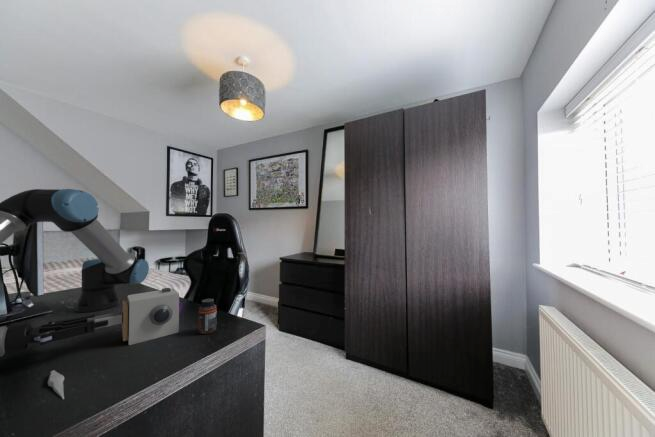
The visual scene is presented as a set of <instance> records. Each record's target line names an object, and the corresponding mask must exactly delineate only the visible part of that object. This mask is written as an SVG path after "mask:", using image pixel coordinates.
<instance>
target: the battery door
mask: <svg viewBox="0 0 655 437" xmlns="http://www.w3.org/2000/svg"><path fill="white" fill-rule="evenodd" d="M121 308H122V311H118V312H119V313H118V312H114V314H113V313H109V315H108V314H103V316H102V315H99V316H98V317H97V316H95V317H93V318H88V319H87V322H91V321H94V322H95V320H96V319H101V318H106V317H111V316H116V315H122V323H121V333H122V334H121V335H122V341H123V342H125V341H128V339H127V332H128V304H127V300H126V299H125V300H122V307H121Z"/></svg>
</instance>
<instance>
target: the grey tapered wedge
mask: <svg viewBox="0 0 655 437" xmlns="http://www.w3.org/2000/svg"><path fill="white" fill-rule="evenodd" d="M49 374H50V375H49V377H48V380H47V385H48V387H50V388H52V389H53V391H54V392H55V393H56V394H57V395H58V396H59V397H60V398H61V399H62V400H65V394H64V392H65V390H64V381H65V376H64V375H63V374H61V373H59V372H57V371H56V370H55V369H54V370H51V371H50V373H49Z"/></svg>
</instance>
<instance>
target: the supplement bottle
mask: <svg viewBox="0 0 655 437" xmlns="http://www.w3.org/2000/svg"><path fill="white" fill-rule="evenodd" d="M217 309H218V308H217V305H216V304H215V300H214V298H206V299H202V300H201V306H199V307H198V323H197V324H198V326H197V328H198V333H199V334H201V335H206V334H207V335H208V334H211V333H214V332H215V331H216V330H217V320H218V319H217V313H218V312H217Z"/></svg>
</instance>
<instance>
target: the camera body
mask: <svg viewBox="0 0 655 437" xmlns="http://www.w3.org/2000/svg"><path fill="white" fill-rule="evenodd" d="M126 299H127V300H126V301H127V304H128V332H127V344H128V346H132V345H135V344H140V343H144V342H147V341H151V340H155V339H158V338H162V337H163V338H164V337H166V336H169V335H173V334H178V333H179V329H180V312H179V301H180V292H178V291H177V290H176V289H175V288H174V287H172V288H170V287H165V288H161V289H160V290H153V291H152V290H151V291H146V292H141V293H140V292H139V293H134V294H128V295H127V298H126Z"/></svg>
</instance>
